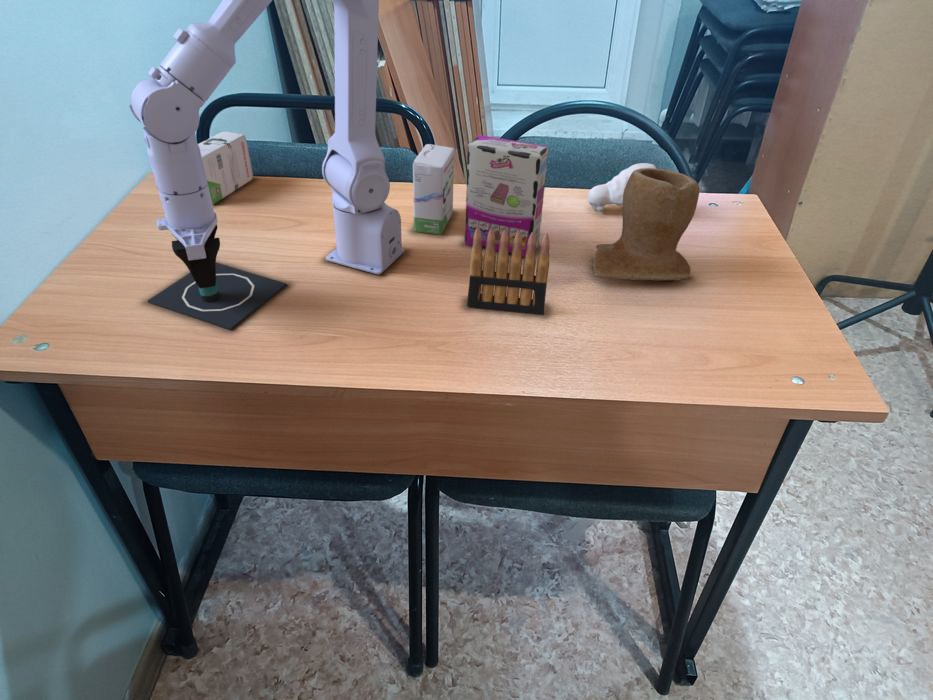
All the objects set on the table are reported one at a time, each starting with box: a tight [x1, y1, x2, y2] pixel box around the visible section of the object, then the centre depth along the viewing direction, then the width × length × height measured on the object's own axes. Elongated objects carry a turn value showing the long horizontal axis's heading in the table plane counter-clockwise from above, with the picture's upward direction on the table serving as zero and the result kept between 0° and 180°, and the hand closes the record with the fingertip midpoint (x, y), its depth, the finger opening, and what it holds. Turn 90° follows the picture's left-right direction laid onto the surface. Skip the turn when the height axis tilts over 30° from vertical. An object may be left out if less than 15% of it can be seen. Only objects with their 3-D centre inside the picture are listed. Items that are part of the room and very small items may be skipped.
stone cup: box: [592, 168, 701, 281], centre depth 95 cm, size 15×12×15 cm
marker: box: [198, 282, 220, 302], centre depth 86 cm, size 2×2×9 cm
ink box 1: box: [197, 131, 254, 206], centre depth 113 cm, size 9×5×12 cm
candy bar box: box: [464, 134, 550, 258], centre depth 99 cm, size 11×5×16 cm, turn 68°
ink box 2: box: [412, 143, 455, 235], centre depth 105 cm, size 8×5×12 cm, turn 168°
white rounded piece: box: [587, 162, 657, 214], centre depth 112 cm, size 6×8×12 cm
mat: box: [147, 262, 288, 331], centre depth 90 cm, size 14×12×1 cm
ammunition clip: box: [466, 227, 551, 316], centre depth 86 cm, size 11×2×12 cm, turn 83°
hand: (206, 280), depth 87 cm, fingers closed on marker, 2 cm apart
